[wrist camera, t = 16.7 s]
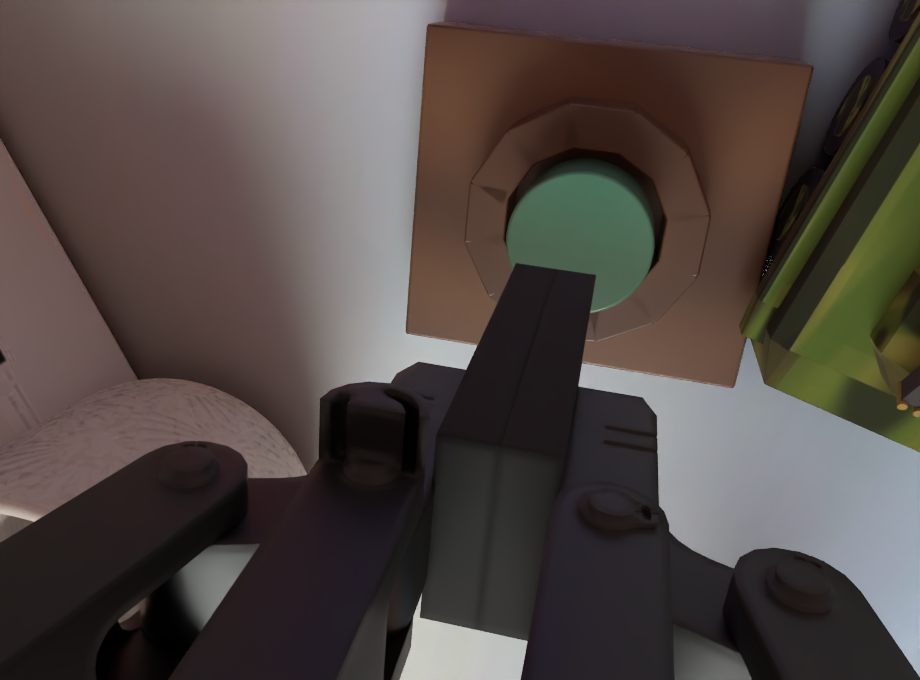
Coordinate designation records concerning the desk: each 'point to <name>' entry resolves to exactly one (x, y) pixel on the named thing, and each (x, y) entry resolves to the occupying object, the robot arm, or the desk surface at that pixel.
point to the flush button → (586, 227)
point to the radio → (44, 319)
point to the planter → (129, 443)
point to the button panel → (615, 141)
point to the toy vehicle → (853, 258)
